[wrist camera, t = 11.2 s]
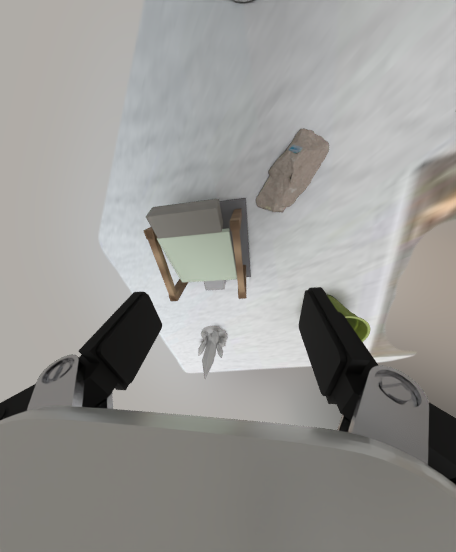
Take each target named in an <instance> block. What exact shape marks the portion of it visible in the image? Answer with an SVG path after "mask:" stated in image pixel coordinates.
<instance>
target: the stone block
mask: <svg viewBox="0 0 456 552" xmlns="http://www.w3.org/2000/svg"><path fill="white" fill-rule="evenodd" d="M225 283H226V280H216V281H204V285H205V289H206V290H222V289H225Z"/></svg>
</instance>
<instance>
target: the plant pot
mask: <svg viewBox="0 0 456 552" xmlns="http://www.w3.org/2000/svg"><path fill="white" fill-rule="evenodd" d="M327 296H328V298H329V299H330V301H331V302H332V304H333V305H334V307H335V308H336V310H337V311H338V312H341V313H342V314H343V315H344V316H345V318H346V319H347V321H348V322H349V324H350V325H351V326H352V328H353V329H354V331H355V332H356V334H357V335H358V337H359V338H360V339H361V341H362V342H363V341H364V340H365V339H366V338H367V337H368V335H369V333H370V326H369V324H368V323H367V322H366V321H365V320H364V319H362V318H359V317H357V316H356V315H355V314H353V313H351V312H350V311H349V310H348V309H347V308H345V307H344V306H343V305H342V304H341V303H339V302H338V301H337V300H336V299H335V298H334V297H332V296H330V295H327Z"/></svg>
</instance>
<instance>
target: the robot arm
mask: <svg viewBox="0 0 456 552" xmlns="http://www.w3.org/2000/svg"><path fill="white" fill-rule="evenodd" d="M235 1H240V2H247V1H251V0H235ZM161 328H162V323H161V321H160V318H159V316H158V314H157V312H156V310H155V308H154V306H153V303H152V301H151V299H150V297H149V295H148V294H146V293H145V292H134V293H133V294H132V295H131V296H130V297H129V298H128V299H127V300H126V301H125V302H124V303H123V304H122V305H121V306H120V308H119V309H118V310H117V311H116V312H115V313H114V314H113V315H112V316H111V317H110V318H109V319H108V320H107V321H106V322H105V323H104V324H103V326H102V327H101V328H100V329H99V330H98V331H97V332H96V333H95V334H94V335H93V336H92V337H91V338H90V339H89V340H88V341H87V342H86V344H84V346H83V347H82V348H81V349H80V350H79V352H80V353H81V354H82V355H81V356H80V357H78V356H76V355H67V356H65V357H62V358H60V359H58V360H56V361H55V362H54V363H52V364H51V365H49V366H48V367H47V368H46V369H45V370H44V371H43V372H42V373H41V375H40V376H39V378H38V380H37V382H36V384H35V385H33V386H31V387H29V388H27V389H25V390H24V391H22V392H20V393H18V394H16V395H14V396H12V397H11V398H9V399H7V400H5V401H4V402H1V403H0V552H456V418H454V417H453V416H451V415H449V414H448V413H446V412H444V411H442V410H441V409H439V408H437V407H436V406H434V405H433V404H431V403H429V402H428V398H427V396H426V394H425V393H424V391H423V390H422V389H421V387H420V386H419V385H418V384H417V383H416V382H415V381H414V380H413V379H411V378H410V377H409V376H407V375H406V374H404V373H402V372H401V371H399V370H397V369H394V368H392V367H388V366H378V364H377V363H376V361H375V360H374V358H373V357H372V355H371V354H370V353H369V351H368V350H367V348H366V347H365V345H364V344H363V342H362V341H361V339H360V338H359V337H358V335H357V334H356V332H355V331H354V329H353V328H352V326H351V325H350V324H349V322H348V321H347V319H346V318H345V316H344V315H343V314H342V313H341V312H338V311H337V310H336V308H335V307H334V305H333V304H332V302H331V301H330V299H329V298H328V296H327V295H326V293H325V292H324V290H323V289H322V288H321V287H319V288H309V290H306V291H305V294H304V300H303V305H302V310H301V315H300V321H299V330H300V333H301V336H302V339H303V342H304V345H305V348H306V351H307V354H308V357H309V359H310V362H311V365H312V368H313V371H314V374H315V377H316V380H317V383H318V386H319V389H320V392H321V394H322V395H323V396H326V398H327V401H328V403H329V404H337V406H338V408H339V411H340V413H341V414H342V417H341V420H340V423H339V426H338V429H337V430H331V429H325V428H316V427H307V426H298V425H289V424H280V423H268V422H258V421H247V420H235V419H224V418H213V417H201V416H190V415H178V414H177V415H176V414H166V413H154V412H142V411H130V410H129V411H128V410H117V409H113V401H112V391H113V390H114V388H116V390H126V389H127V387H128V385H129V384H130V383H131V382H132V381H133V380H134V378H135V376H136V374H137V372H138V370H139V368H140V367H141V365H142V363H143V361H144V360H145V358H146V356H147V354H148V352H149V350H150V349H151V347H152V345H153V343H154V341H155V339H156V337H157V336H158V334H159V332H160V330H161Z"/></svg>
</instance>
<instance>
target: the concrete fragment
mask: <svg viewBox="0 0 456 552" xmlns="http://www.w3.org/2000/svg"><path fill="white" fill-rule="evenodd" d="M328 152H329V143H328V142H327V141H325V140H324V139H323V138H322V137H321V136H318V135H316V134H314V131H312V130H307V129H300V130H299V132H298V133H297V134H296V136H295V138H294V139H293V141H292V142H291V144H290V145H289V147H288V148H287V149H286V151H285V153H284V154H282V155H281V156H280V157H279V158H278V159H277V160H276V162H275V163H274V165H273V166H272V167H271V168H270V170H269V174H270V176H269V178H268V180H267V181H266V183H265V185H264V187H263V188H262V190H261V192H260V193H259V195H258V197H257V198H256V203H257V206H258V207H261V208H263V209H268V210H270V211H273V212H283V211H284V209H285V208H286V207H289V206H291V205H292V204H293V203H294V202H295V201H296V198H297V197H298V196H299V195H300V194H301V193H302V192H303V191H304V190H305V189H306V188H307V186H308V185H309V184H310V183H311V180H312V178H313V176H314V175H315V173H316V171H317V170H318V169H319V167H320V166H321V163H322V162H323V161H324V159H325V157H326V155H327V153H328Z"/></svg>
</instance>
